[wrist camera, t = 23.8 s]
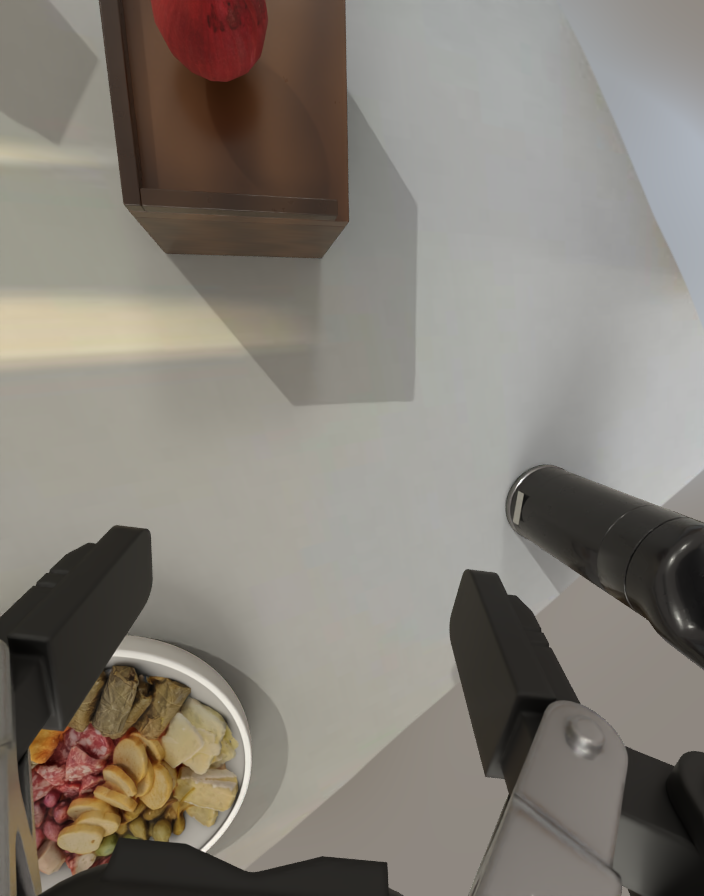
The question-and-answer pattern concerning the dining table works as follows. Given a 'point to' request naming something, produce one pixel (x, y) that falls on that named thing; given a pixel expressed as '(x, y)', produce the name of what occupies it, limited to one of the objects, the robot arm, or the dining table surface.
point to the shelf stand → (234, 135)
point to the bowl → (140, 761)
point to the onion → (213, 34)
